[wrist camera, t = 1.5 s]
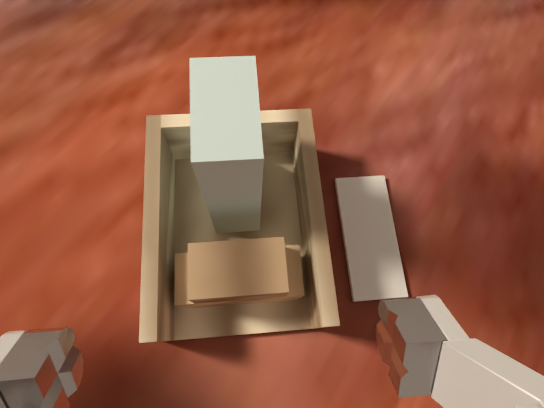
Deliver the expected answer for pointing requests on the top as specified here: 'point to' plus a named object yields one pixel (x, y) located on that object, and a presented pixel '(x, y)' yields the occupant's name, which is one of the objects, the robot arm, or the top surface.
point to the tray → (199, 228)
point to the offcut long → (294, 294)
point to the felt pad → (370, 239)
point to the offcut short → (237, 270)
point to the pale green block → (227, 140)
